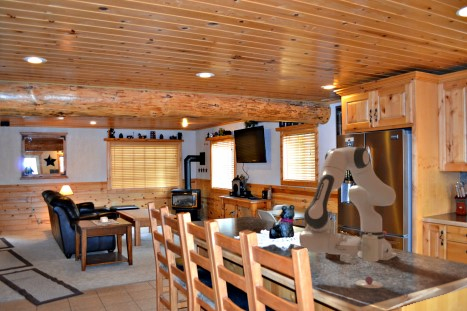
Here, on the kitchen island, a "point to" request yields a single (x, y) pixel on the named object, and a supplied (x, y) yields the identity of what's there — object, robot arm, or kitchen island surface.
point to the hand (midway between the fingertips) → (371, 246)
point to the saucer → (372, 285)
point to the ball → (369, 280)
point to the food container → (332, 256)
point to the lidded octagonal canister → (373, 243)
